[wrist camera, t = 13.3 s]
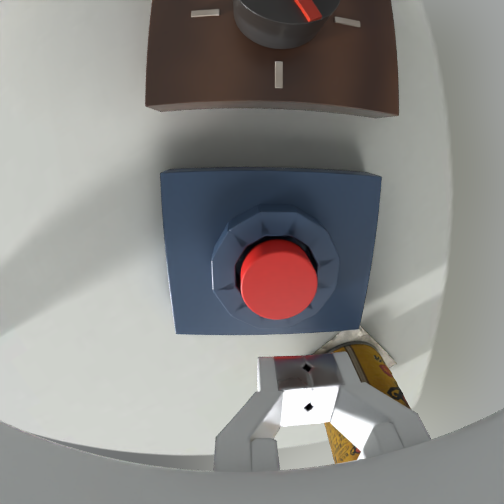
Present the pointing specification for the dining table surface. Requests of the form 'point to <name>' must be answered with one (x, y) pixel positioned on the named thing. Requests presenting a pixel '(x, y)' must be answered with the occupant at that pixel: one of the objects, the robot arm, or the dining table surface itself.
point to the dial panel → (272, 62)
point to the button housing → (263, 229)
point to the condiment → (368, 370)
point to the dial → (282, 20)
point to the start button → (277, 279)
